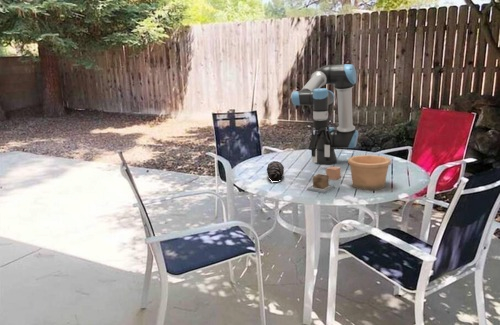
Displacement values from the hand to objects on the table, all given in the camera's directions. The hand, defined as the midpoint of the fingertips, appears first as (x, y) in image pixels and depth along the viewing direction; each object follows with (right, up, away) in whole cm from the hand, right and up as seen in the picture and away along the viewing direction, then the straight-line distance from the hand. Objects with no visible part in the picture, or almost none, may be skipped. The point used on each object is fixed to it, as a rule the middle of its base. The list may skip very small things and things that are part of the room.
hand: (320, 159), depth 214 cm
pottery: (+27, -14, +6) cm, 31 cm away
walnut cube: (+1, -15, +3) cm, 15 cm away
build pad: (+1, -16, +4) cm, 16 cm away
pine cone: (-22, -12, +26) cm, 35 cm away
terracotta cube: (+11, -11, +23) cm, 27 cm away
